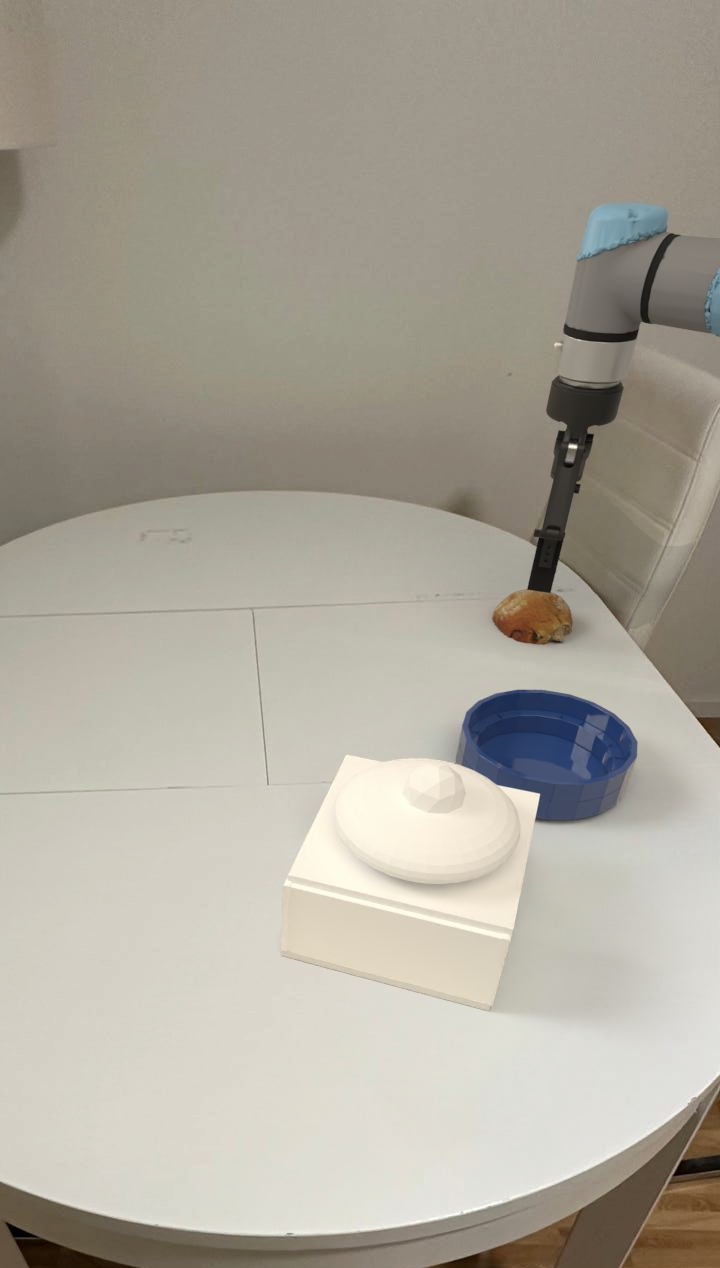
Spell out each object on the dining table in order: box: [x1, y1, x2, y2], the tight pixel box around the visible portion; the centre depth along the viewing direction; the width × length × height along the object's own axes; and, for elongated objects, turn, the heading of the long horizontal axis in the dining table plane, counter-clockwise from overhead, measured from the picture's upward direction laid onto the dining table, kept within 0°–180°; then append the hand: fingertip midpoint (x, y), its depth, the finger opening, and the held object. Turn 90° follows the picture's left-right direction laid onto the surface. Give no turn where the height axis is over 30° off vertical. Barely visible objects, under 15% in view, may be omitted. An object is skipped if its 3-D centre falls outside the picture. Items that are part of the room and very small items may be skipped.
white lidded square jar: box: [280, 754, 540, 1012], centre depth 76 cm, size 18×18×16 cm
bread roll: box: [491, 588, 573, 645], centre depth 117 cm, size 10×10×8 cm
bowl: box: [455, 689, 639, 821], centre depth 95 cm, size 17×17×5 cm
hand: (544, 567), depth 112 cm, fingers open, 13 cm apart
